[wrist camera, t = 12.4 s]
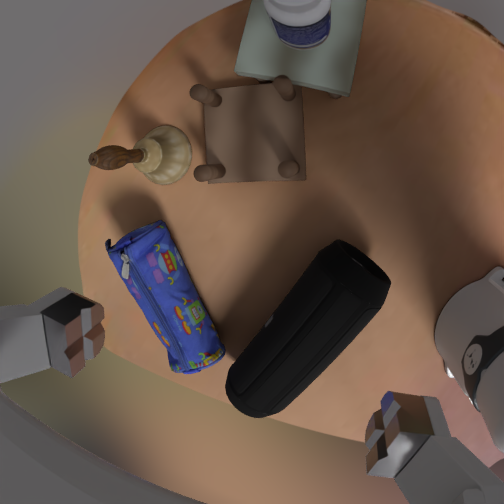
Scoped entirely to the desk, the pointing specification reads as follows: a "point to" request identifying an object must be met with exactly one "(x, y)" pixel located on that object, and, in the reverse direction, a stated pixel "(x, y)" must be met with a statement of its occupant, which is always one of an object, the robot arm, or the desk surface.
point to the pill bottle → (300, 22)
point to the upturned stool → (253, 132)
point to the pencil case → (167, 297)
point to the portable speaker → (307, 330)
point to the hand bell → (151, 155)
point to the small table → (304, 51)
